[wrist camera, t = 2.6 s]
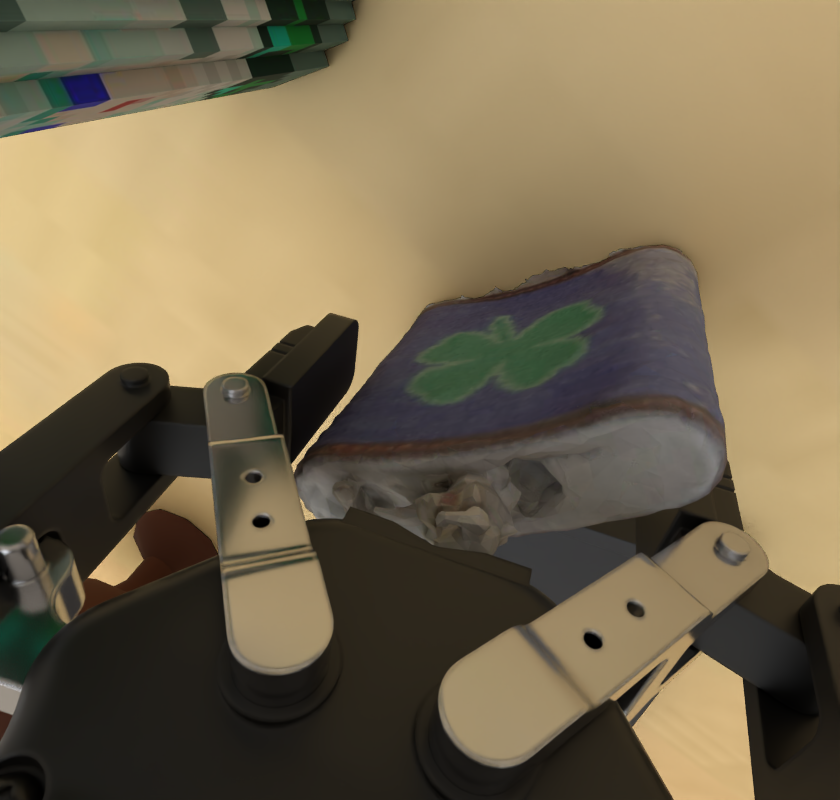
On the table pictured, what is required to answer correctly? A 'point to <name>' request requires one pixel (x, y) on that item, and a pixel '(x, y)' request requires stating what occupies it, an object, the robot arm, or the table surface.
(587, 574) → the tray
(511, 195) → the table surface
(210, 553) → the ice cream bowl
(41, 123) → the can
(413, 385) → the flask
